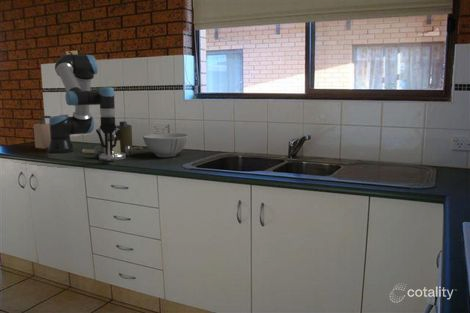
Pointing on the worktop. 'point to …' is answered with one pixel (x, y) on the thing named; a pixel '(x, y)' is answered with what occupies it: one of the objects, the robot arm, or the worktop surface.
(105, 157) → the tribrach plate
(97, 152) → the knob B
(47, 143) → the soap dispenser
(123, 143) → the canister
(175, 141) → the decorative bowl
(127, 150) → the knob
